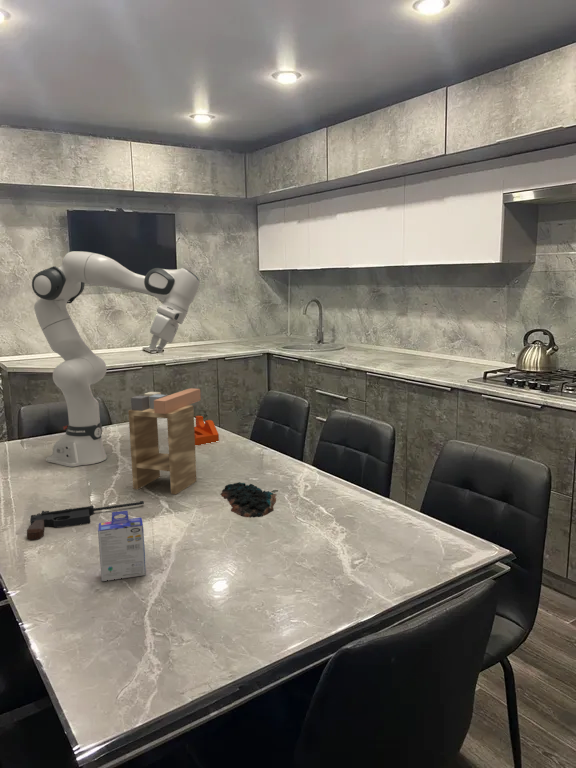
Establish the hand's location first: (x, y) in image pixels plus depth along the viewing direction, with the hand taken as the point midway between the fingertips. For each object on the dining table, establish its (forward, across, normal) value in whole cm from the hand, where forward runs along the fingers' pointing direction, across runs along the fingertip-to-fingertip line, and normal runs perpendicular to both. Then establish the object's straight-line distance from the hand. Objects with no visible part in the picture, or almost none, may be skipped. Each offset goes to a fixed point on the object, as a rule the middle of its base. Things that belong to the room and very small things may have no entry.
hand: (154, 350), depth 204 cm
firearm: (+52, +35, +14) cm, 64 cm away
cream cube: (+16, +7, +9) cm, 20 cm away
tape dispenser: (+28, -50, +20) cm, 60 cm away
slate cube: (+16, +12, +12) cm, 24 cm away
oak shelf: (+39, +6, +24) cm, 46 cm away
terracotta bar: (+13, +10, +18) cm, 24 cm away
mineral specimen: (+29, +19, +53) cm, 63 cm away
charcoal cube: (+19, +14, +8) cm, 24 cm away
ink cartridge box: (+49, +65, +33) cm, 88 cm away
